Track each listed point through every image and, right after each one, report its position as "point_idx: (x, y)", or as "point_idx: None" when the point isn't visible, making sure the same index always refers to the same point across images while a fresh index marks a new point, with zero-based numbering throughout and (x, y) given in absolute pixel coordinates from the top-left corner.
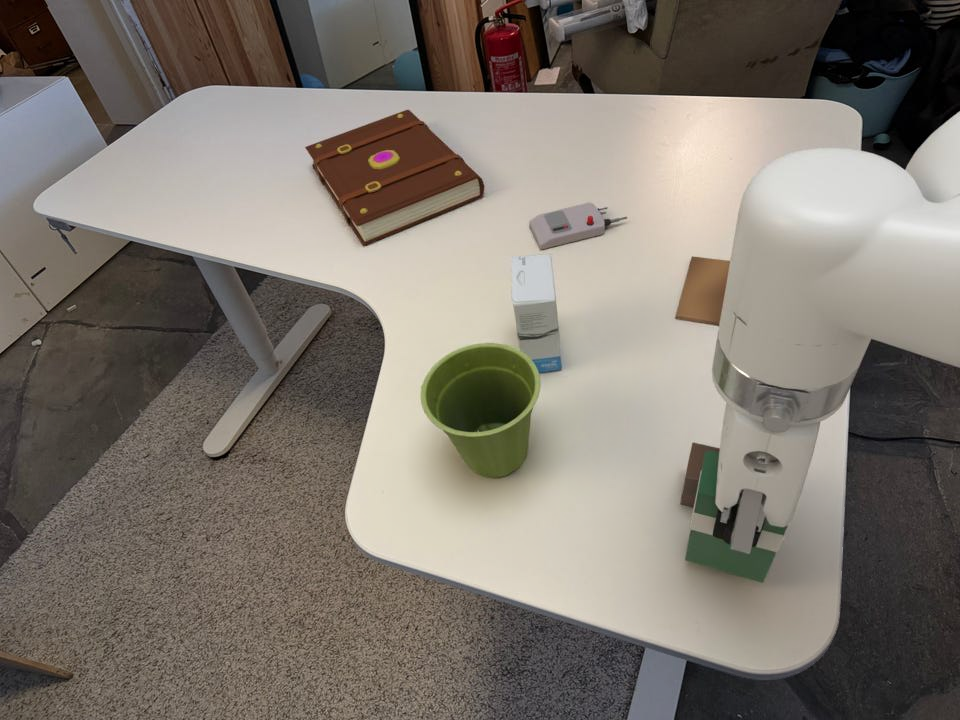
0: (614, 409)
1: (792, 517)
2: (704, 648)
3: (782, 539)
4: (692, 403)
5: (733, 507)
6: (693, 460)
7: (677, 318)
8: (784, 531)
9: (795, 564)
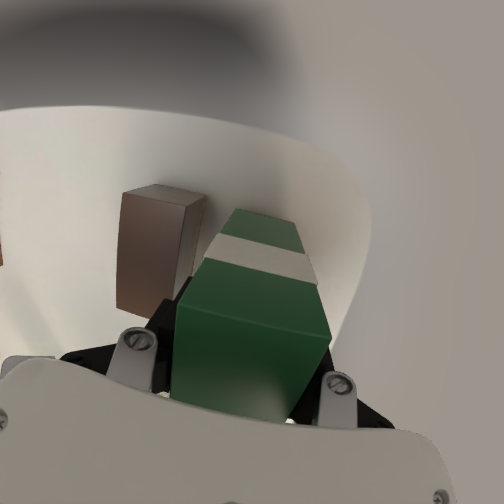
0: (95, 336)
1: (446, 471)
2: (354, 282)
3: (314, 277)
4: (67, 261)
5: (300, 423)
6: (142, 312)
7: (2, 263)
8: (318, 294)
9: (255, 169)
